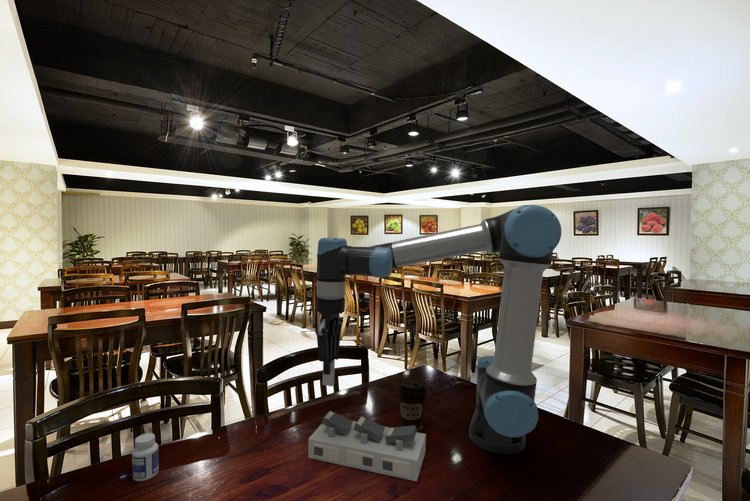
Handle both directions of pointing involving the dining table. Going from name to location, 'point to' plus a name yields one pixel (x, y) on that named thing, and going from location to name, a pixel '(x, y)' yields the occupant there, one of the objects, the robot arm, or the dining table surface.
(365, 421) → the switch
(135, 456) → the pill bottle
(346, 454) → the console
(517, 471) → the dining table surface
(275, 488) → the dining table surface
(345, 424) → the switch
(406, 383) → the coffee cup
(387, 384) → the dining table surface
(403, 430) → the switch
